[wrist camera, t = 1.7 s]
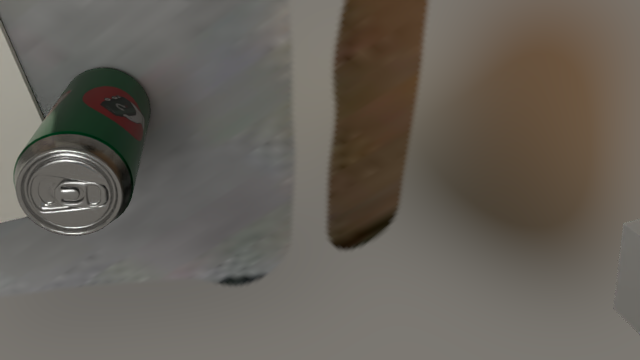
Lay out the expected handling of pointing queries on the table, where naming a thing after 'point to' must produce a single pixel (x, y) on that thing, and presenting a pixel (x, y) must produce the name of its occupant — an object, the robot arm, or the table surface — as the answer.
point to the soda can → (84, 154)
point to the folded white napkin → (13, 124)
